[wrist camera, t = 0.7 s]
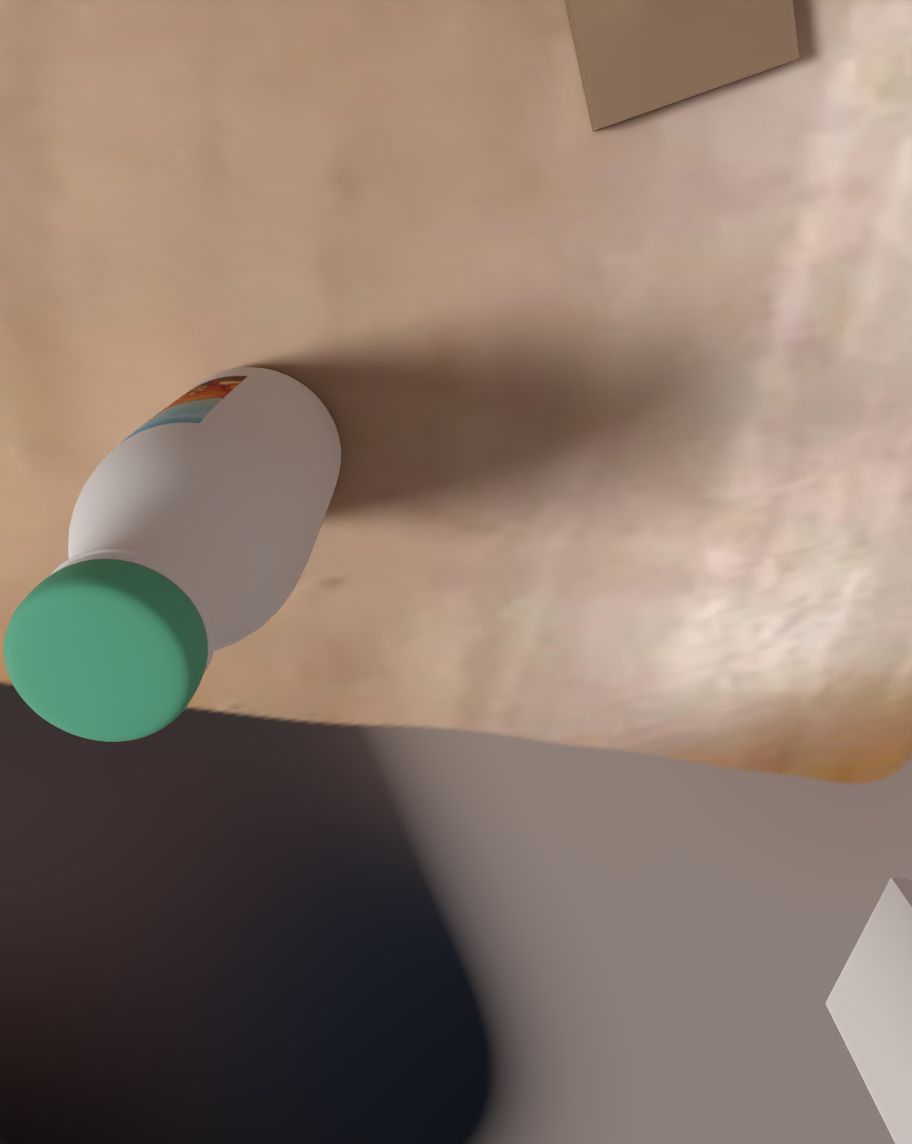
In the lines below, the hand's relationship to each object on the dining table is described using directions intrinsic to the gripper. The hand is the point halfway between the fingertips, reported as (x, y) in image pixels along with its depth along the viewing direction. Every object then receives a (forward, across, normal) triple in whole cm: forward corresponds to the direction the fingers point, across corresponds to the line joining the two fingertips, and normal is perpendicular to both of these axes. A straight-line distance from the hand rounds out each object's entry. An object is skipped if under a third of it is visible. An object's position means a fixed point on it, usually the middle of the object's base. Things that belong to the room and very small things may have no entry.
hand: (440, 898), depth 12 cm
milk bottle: (+28, -8, -2) cm, 29 cm away
